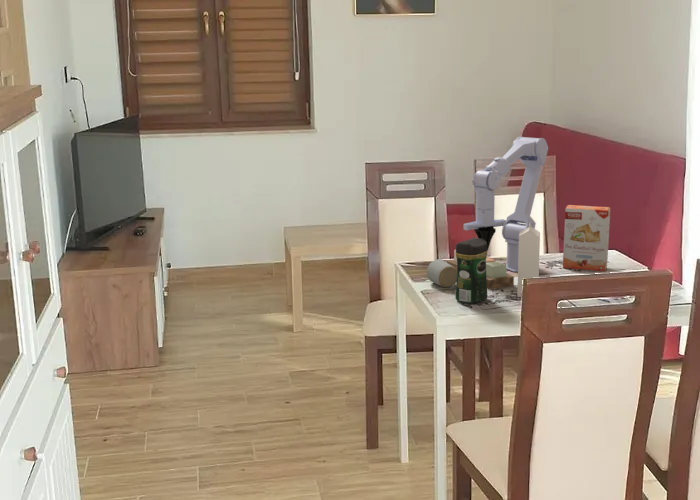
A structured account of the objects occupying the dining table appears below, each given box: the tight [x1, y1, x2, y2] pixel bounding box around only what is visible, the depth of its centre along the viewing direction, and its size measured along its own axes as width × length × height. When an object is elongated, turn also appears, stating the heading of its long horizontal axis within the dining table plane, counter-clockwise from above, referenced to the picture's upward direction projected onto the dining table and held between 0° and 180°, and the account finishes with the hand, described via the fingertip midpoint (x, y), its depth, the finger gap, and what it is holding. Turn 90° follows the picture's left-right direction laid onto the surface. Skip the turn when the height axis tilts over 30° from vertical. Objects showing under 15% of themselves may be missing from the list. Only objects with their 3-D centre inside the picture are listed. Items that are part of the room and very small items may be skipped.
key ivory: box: [453, 249, 457, 262], centre depth 287 cm, size 5×5×4 cm
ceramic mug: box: [426, 259, 457, 289], centre depth 271 cm, size 11×8×8 cm
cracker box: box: [562, 204, 611, 272], centre depth 284 cm, size 14×6×21 cm, turn 68°
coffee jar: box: [455, 237, 488, 304], centre depth 253 cm, size 10×8×19 cm
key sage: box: [486, 260, 507, 278], centre depth 269 cm, size 5×5×4 cm
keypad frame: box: [446, 259, 515, 290], centre depth 279 cm, size 9×27×3 cm, turn 22°
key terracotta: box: [486, 256, 496, 263], centre depth 275 cm, size 5×5×4 cm
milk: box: [516, 224, 541, 298], centre depth 256 cm, size 6×6×22 cm
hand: (484, 250), depth 274 cm, fingers closed
